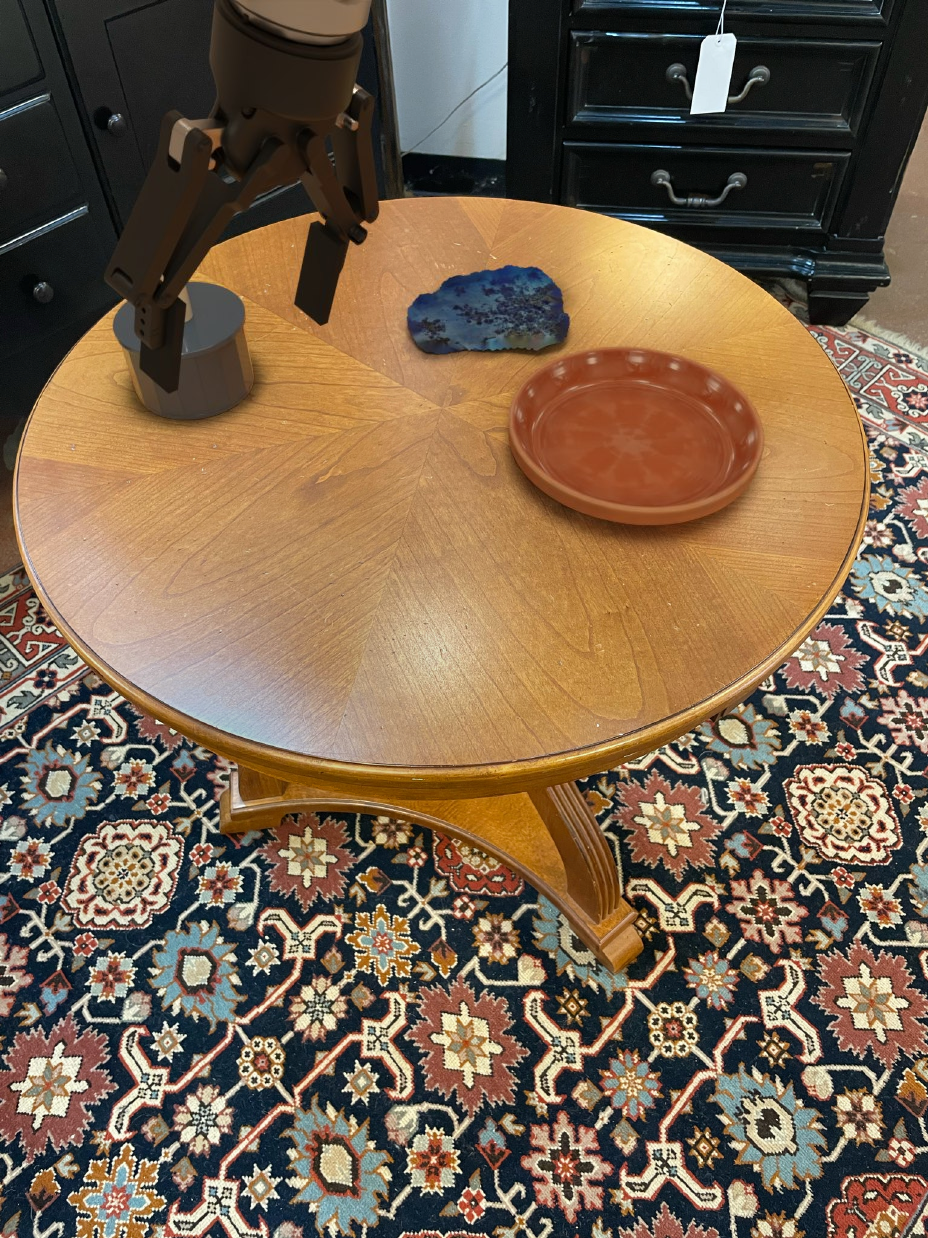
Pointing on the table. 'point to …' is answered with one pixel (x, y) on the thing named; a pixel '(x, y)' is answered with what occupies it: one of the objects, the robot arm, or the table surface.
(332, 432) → the table surface
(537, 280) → the rock
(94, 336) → the table surface
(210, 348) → the lid
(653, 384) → the saucer
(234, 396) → the pot
